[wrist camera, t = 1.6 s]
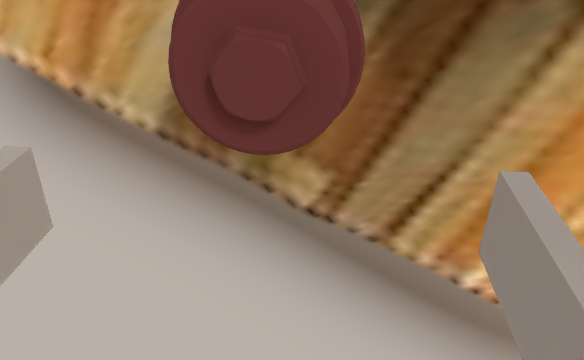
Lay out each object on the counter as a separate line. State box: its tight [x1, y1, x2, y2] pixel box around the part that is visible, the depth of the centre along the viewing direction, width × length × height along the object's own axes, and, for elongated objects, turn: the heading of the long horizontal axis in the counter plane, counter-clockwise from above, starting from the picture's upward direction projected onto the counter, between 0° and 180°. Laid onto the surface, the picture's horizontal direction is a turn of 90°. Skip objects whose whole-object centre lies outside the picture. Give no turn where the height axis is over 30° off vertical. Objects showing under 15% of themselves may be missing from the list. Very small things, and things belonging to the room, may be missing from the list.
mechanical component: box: [168, 0, 365, 155], centre depth 27 cm, size 12×10×10 cm
